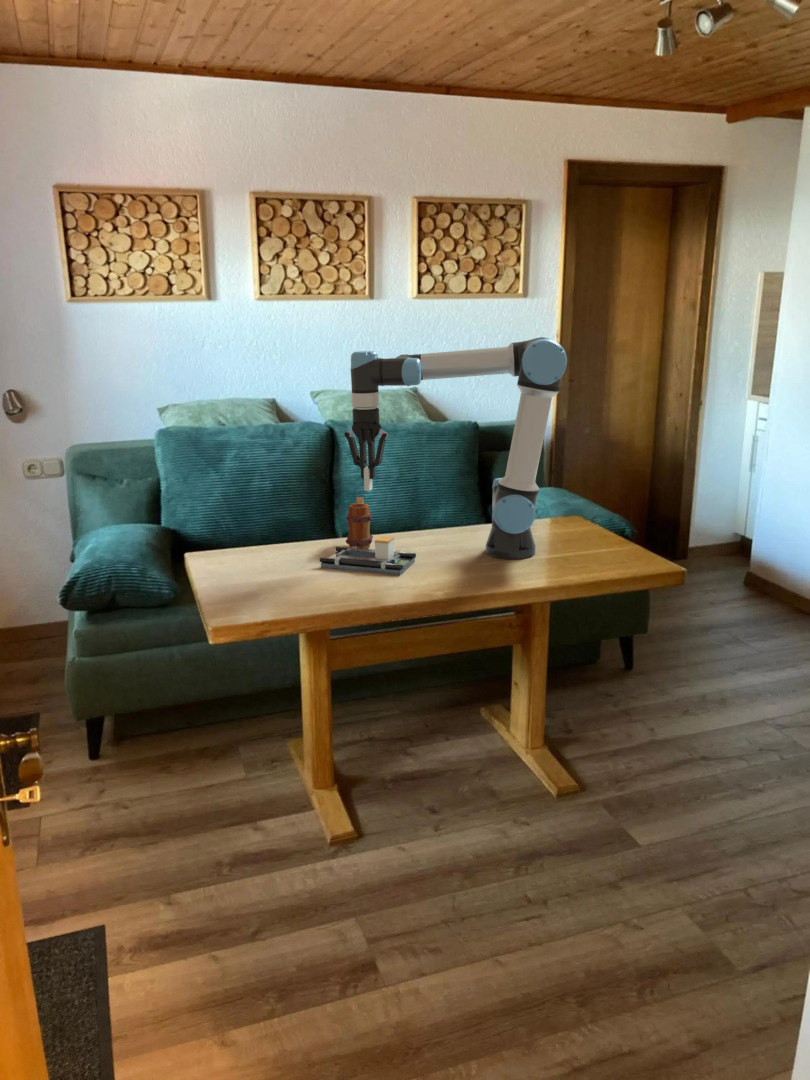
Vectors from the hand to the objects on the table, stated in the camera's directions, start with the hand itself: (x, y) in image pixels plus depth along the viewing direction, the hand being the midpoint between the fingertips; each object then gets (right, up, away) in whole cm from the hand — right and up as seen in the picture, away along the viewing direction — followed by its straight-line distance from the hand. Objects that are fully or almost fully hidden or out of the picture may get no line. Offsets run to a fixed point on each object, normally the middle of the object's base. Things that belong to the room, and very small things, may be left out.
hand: (368, 489), depth 246 cm
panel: (0, -22, +3) cm, 22 cm away
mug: (-4, -17, +22) cm, 28 cm away
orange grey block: (+5, -21, +1) cm, 21 cm away
